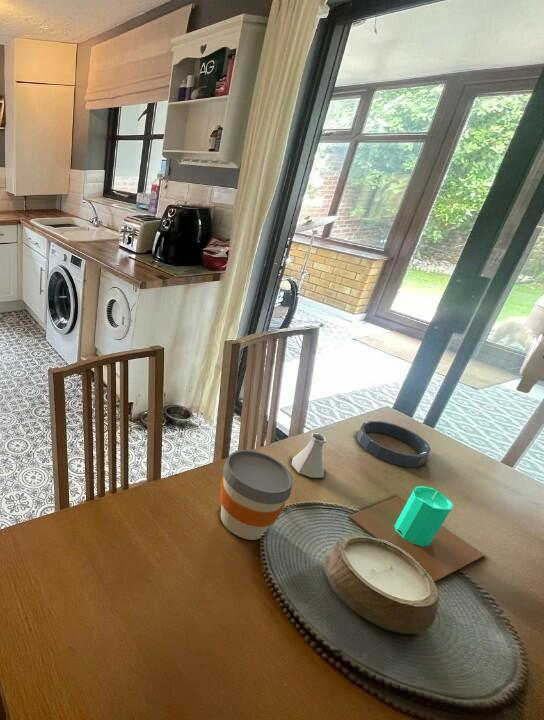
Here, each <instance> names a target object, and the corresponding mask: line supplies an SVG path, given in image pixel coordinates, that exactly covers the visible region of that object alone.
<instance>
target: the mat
mask: <svg viewBox="0 0 544 720" xmlns="http://www.w3.org/2000/svg"><path fill="white" fill-rule="evenodd" d="M406 503H407V502H406V501H405V500H403V499H402V498H400V497H399V496H395V497H391V498H390V499H387V500H385V501H382V502H379V503H377V504H374V505H372V506H369V507H367V508H364V509H362V510H359V511H357V512H355V513H353V514H350V515H348V518H349V519H350V520H351V521H353V523H355V524H357V525H358V526H359V527H360V528H362V529H363V530H364V531H365V532H366V533H368V534H369V535H370V536H372V538H374V539H376V538H380V539H383V540H386V541H388V542H390V543H392V544H394V545H396V546H399V547H400V548H402V549H403V550H405V551H406V552H407V553H409V554H410V555H411V556H412V557H413V558H414V559H415V560H416V561H417V562H419V564H420V565H421V566H422V567H423V568H424V569H425V570H426V572H427V573H428V574H429V575H430V576H431V577H432V579H433V580H434V581H435V582H434V583H436V582H438V581H439V580H442V579H443V578H446V577H447V576H450V575H451V574H453V573H455V572H457V571H459V570H461V569H463V568H464V567H467V566H469V565H470V564H472V563H474V562H476V561H478V560H480V559H482V558H484V557H485V554H483V553H482V552H481V551H479V550H477V549H476V548H474V547H473V546H471V544H468V543H467V542H466V541H464V540H463V539H461V538H460V537H459V536H457V535H456V534H454V533H452V532H451V531H449V530H448V529H446V528H445V527H443V525H441V527H440V529H439V530H438V532H437V533H436V535H435V537H434V538H433V540H432V542H431V543H430V545H429V546H420V545H416V544H413V543H411V542H409V541H407V540H406V539H404V538H403V537H401V536H400V535H399V534H398V533H397V532H396V529H395V527H394V525H395V524H396V522H397V520H398V518H399V516H400V514H401V513H402V511H403V509H404V507H405V505H406ZM364 514H366V515H364Z"/></svg>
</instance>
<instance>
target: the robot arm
mask: <svg viewBox="0 0 544 720" xmlns="http://www.w3.org/2000/svg"><path fill="white" fill-rule="evenodd" d="M524 326H525V327H526V328H528V329H529V332H528V334H529V336H530V337H532V339H531V342H530V345H529V348H528V350H527V353H526V355H525V357H524V360H523V362H522V365H521V367H520V370H519V375H520V376H522V377H521V379H520V381H519V382H518V384H517V386H516V391H517V392H521V393H524V394H529V393H530V392H531V391H532V388H533V387H534V386H535V385H536V384H537V383H538V382H544V294H542V295H541V296H540V298H538V299H537V300H536V302H535V304H534V305H533V307H532V309H531V311H530V313H529V315H528V316H527V318H526V319H525V322H524Z"/></svg>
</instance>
